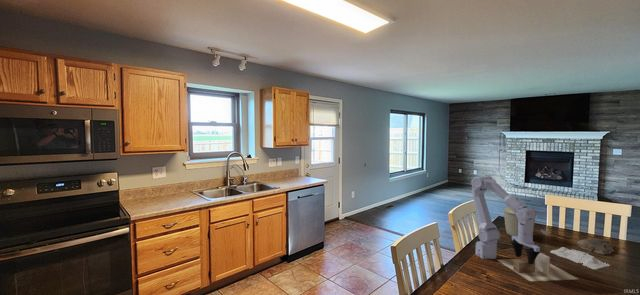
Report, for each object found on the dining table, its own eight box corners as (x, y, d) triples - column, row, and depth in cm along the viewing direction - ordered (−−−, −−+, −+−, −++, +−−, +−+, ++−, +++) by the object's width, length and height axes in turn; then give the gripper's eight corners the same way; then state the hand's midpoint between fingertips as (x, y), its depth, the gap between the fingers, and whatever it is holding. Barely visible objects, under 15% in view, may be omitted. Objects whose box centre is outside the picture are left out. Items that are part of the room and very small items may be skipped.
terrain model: (560, 250, 164) (560, 241, 163) (614, 265, 143) (614, 255, 143) (544, 255, 157) (544, 246, 157) (598, 272, 136) (598, 261, 136)
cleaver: (561, 241, 173) (572, 239, 176) (561, 240, 173) (572, 238, 176) (516, 226, 201) (526, 224, 204) (516, 225, 201) (526, 224, 204)
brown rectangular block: (518, 273, 132) (519, 262, 132) (513, 269, 136) (513, 259, 135) (534, 272, 133) (535, 262, 132) (528, 268, 136) (529, 258, 136)
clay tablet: (590, 241, 173) (573, 246, 165) (591, 233, 172) (574, 238, 164) (622, 250, 160) (605, 256, 152) (622, 242, 160) (606, 248, 151)
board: (529, 283, 125) (529, 280, 125) (496, 261, 146) (496, 259, 146) (579, 281, 127) (579, 278, 126) (539, 260, 147) (540, 257, 147)
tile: (546, 273, 131) (547, 257, 131) (534, 266, 138) (534, 251, 138) (549, 273, 131) (550, 257, 131) (537, 266, 138) (537, 250, 138)
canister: (543, 241, 172) (544, 208, 171) (514, 241, 172) (515, 208, 171) (522, 231, 190) (523, 200, 189) (496, 231, 190) (496, 200, 189)
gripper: (546, 237, 126) (545, 266, 127) (521, 227, 141) (520, 253, 141) (531, 238, 126) (530, 267, 126) (508, 227, 140) (507, 253, 141)
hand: (524, 260), depth 134 cm, fingers open, 7 cm apart
